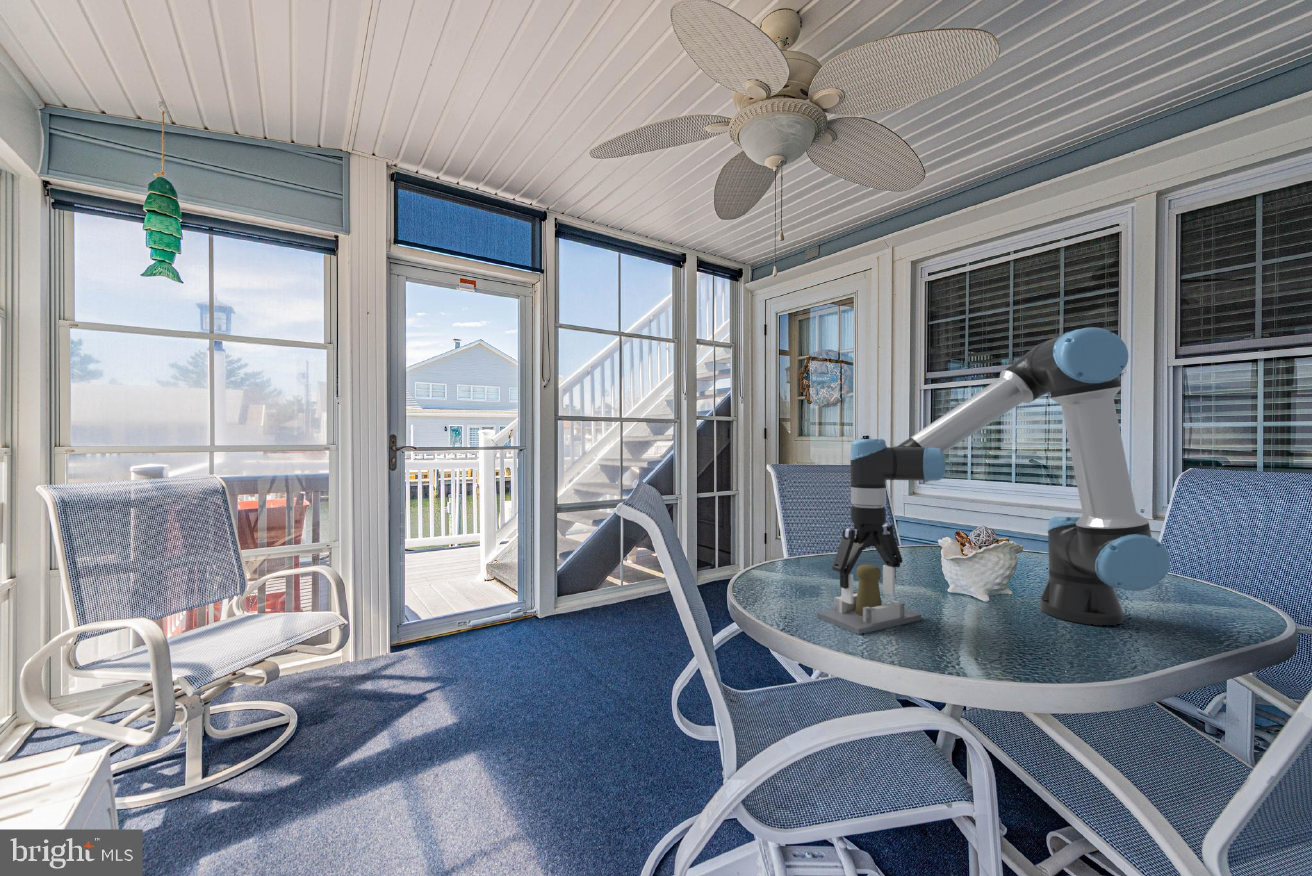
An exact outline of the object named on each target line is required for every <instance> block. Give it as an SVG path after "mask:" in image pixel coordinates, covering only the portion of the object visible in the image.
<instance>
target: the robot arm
mask: <svg viewBox="0 0 1312 876" xmlns="http://www.w3.org/2000/svg"><path fill="white" fill-rule="evenodd" d="M1128 363H1129V350H1128V346H1127V345H1126V344H1125V342H1124V340H1123V339H1122V338H1121V337H1120V336H1119V335H1117V334H1116V333H1115V332H1112V331H1111V330H1108V329H1105V328H1101V327H1091V326H1090V327H1084V328H1080V329H1074V330H1071V331H1067V332H1066V333H1064V334H1062V335H1061V334H1060V335H1059V336H1056V337H1053V338H1051V339H1048V340H1044V341H1043V342H1040V343H1038V344H1037V345H1036V346H1034V347H1033V348H1032V349H1030V350H1029V351H1028V352H1026V353H1025V354H1024V355H1023V356H1021V357H1020V358H1019V359H1017V360H1016V361H1015V362H1014V363H1012V364H1010V365H1009V366H1008V367H1006V368H1005V369H1003V370H1002V371H1001V372H1000V374H999V378H997V379H996V380H995V381H993V382H991V383H990V384H988V385H987V386H985V388H983V389H982V390H980V391H978V392H977V393H975V394H974V395H972V396H970V397H969V398H967V399H966V400H965V401H963V402H961V403H960V404H958V405H957V406H956V407H954V408H953V409H951V410H949V411H948V412H946V413H945V414H943V415H942V416H940V417H939V418H937V419H936V420H934V421H933V422H931V423H930V424H928V425H927V426H925V427H924V428H922V429H921V430H918V431H917V432H916V433H915V434H913V435H912V436H910V437H909V438H908V439H906V440H904V441H902V442H901V443H899V444H898V445H895V446H892V447H889V446H887V444H886V440H885V439H883V438H856V439H854V440H852V442H851V447H850V458H849V460H850V461H849V462H850V504H852V506H851V507H850V521H851V522H852V523H853V528H847V527H844V528H843V529H842V538H841V540H840V543H839V546H838V550H837V552H836V554H835V555H836V556H835V558H834V560H833V564H832V570H833V571H836V572H837V573H839V586H840V587H839V588H840V589H841V591H840V592H841V593H840V594H841V595H840V596H841V601H843V602H846V603H849V604H853V594H854V574H852V573H851V572H852V570H853V568H854V567H855V565H856V563H857V561H858V559H859V557H860V556H861V554H862V552H863V551H864V550H866V548H870V547H874V548H875V550H876V552H878V555H879V556H880V557H881V558H882V560H883V563H884V564H883V565H882V593H883V594H884V595H889V596H893V597H894V596H895V595H896V578H897V576H896V574H897V573H896V572H897V571H896V568H900V567H901V564H902V563H903V558H902V554H901V551H900V548H899V546H898V544H897V540H896V538H895V535H894V526H893V525H891V524H886V523H887V508H886V507H884V506H885V505H887V481H909V482H910V481H916V482H919V481H920V482H921V481H923V482H927V483H928V482H931V481H935V482H936V481H940V480H943V478H944V476H945V473H946V467H947V466H946V464H947V463H946V457H945V453H946V452H948V451H949V450H950V449H952V448H954V447H955V446H957V445H959V444H960V443H962V442H963V441H964V440H966V439H968V438H969V437H971V436H973V435H974V434H976V433H978V432H979V431H980V430H982V429H984V428H985V427H987V426H988V425H990V424H991V423H993V422H995V421H996V420H997V419H999V418H1001V417H1002V416H1003V415H1005V414H1007V413H1008V412H1010V411H1011V410H1012V409H1014V408H1016V407H1018V406H1019V405H1021V404H1023V403H1024V404H1030V403H1033V401H1036V400H1037V399H1039V398H1040V397H1042V396H1044V395H1047V394H1050V398H1051V401H1053V402H1055V403H1057V404H1059V405H1060V406H1061V409H1062V410H1061V411H1062V415H1063V420H1064V425H1065V429H1066V430H1065V431H1066V435H1067V441H1068V446H1069V451H1070V456H1071V461H1072V466H1073V470H1074V475H1075V482H1076V486H1077V490H1078V491H1077V492H1078V496H1079V501H1080V506H1081V511H1082V515H1081V516H1053V517H1051V518H1050V519H1049V521H1048V528H1047V534H1048V537H1047V538H1048V579H1047V582H1046V584H1045V587H1044V589H1043V592H1042V594H1041V597H1040V600H1039V609H1040V610H1041V612H1043V613H1044V614H1046V615H1049V616H1051V617H1053V618H1057V619H1061V620H1064V621H1069V622H1074V623H1078V624H1083V625H1085V624H1086V625H1091V624H1093V626H1102V625H1107V626H1108V625H1109V627H1111V626H1110V625H1113V626H1116V625H1115V624H1120V623H1122V624H1124V622H1123V621H1124V610H1123V607H1122V605H1121V603H1120V600H1119V598H1118V595H1117V593H1116V590H1115V588H1117V589H1120V590H1124V591H1132V592H1139V591H1146V590H1148V589H1151V588H1153V587H1155V586H1157V585H1159V583H1160V582H1161V581H1163V580H1164V579H1165V578H1166V577H1167V575H1168V573H1169V571H1170V566H1171V557H1170V555H1169V554H1170V553H1169V552H1168V549H1167V548H1166V547H1165V545H1164V544H1162V543H1161V542H1160V541H1158V539H1156V538H1154V537H1152V533H1151V532H1152V531H1151V527H1150V526H1151V525H1150V522H1149V520H1148V518H1146V517H1144V516H1143V515H1141V514H1140V513H1138V511H1137V510H1136V509H1137V508H1136V502H1135V499H1134V494H1133V489H1132V484H1131V479H1130V474H1129V469H1128V464H1127V458H1126V453H1125V449H1124V444H1123V439H1122V433H1121V429H1120V424H1119V419H1118V414H1117V410H1116V404H1115V400H1114V399H1115V396H1116V395H1117V394H1118V392H1120V391H1121V389H1122V384H1121V378H1120V375H1121V374H1122V373H1123V371H1124V369H1125V368H1126V367H1127V366H1128ZM1120 625H1121V624H1120ZM1107 626H1106V627H1107Z"/></svg>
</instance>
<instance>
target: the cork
mask: <svg viewBox="0 0 1312 876" xmlns="http://www.w3.org/2000/svg"><path fill="white" fill-rule="evenodd" d="M856 576H857V578H858V585H857V601H856V608H855V613H856V614H858V615H860V616H863V607H870V608H871V607H876V606H881V605H882V603H881V602H882V598H881V592H880V591H881V589H880V585H879V584H880V583H879V581H880V579H881V576H882V573H881V569H880V568H879V567H878V566H877V565H873V564H860V565H858V566H857V568H856Z"/></svg>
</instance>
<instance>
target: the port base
mask: <svg viewBox="0 0 1312 876" xmlns="http://www.w3.org/2000/svg"><path fill="white" fill-rule="evenodd" d="M857 593H858V592H857ZM857 593H853V604H849V603H846V602H843V601H841V595H840V596H836V597H834V598H833V601H834V602H833V609H828V610H823V611H819V612H816V618H817V617H818V618H817V619H819V618H820V619H819V620H821V619H823V620H822V621H824V622H826V621H827V623H829V624H831V623H832V625H834V624H835V625H834V626H836V625H837V627H838V626H840V627H839V628H841V627H842V628H841V629H843V628H845V629H844V630H846V629H847V630H846V631H848V630H850V631H849V632H851V633H853V632H854V633H853V634H856V633H857V634H856V635H859V634H860V635H863V634H862V633H864V634H868V633H872V632H877V631H881V630H885V629H889V628H893V627H897V626H901V625H905V624H909V623H914V622H919V621H921V620H922V613H921V614H920V613H917V612H914V611H911V610H908V609H905V603H904V602H901V601H897V600H893V601H891V602H890V603H886V602H883V601H881V603H882V605H881V606H876V607H871V608H870V607H863V616H860V615H858V614H856V613H855V608H856V601H857ZM860 635H859V636H860Z"/></svg>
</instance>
